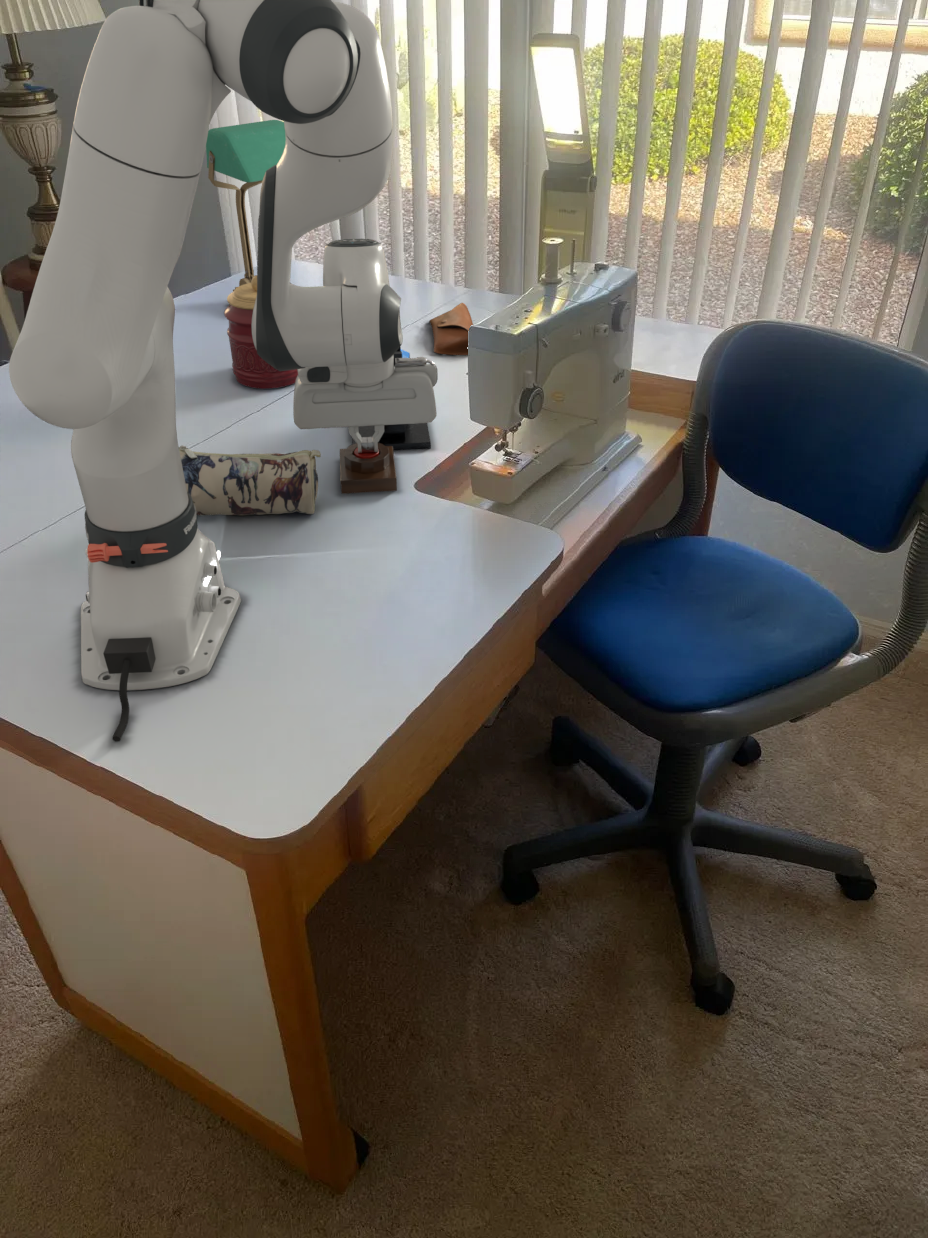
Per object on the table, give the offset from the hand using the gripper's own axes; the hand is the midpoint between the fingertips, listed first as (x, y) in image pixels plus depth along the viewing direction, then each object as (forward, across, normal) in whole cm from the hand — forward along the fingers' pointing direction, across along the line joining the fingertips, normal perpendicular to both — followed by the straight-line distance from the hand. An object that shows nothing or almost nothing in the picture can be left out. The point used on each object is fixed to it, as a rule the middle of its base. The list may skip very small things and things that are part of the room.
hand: (368, 450), depth 141 cm
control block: (+4, 0, 0) cm, 4 cm away
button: (+2, 0, 0) cm, 2 cm away
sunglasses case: (+4, -18, -53) cm, 56 cm away
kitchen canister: (+4, +16, -39) cm, 43 cm away
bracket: (+4, -4, -12) cm, 13 cm away
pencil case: (+4, +17, +8) cm, 19 cm away
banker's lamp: (+4, +18, -70) cm, 72 cm away
